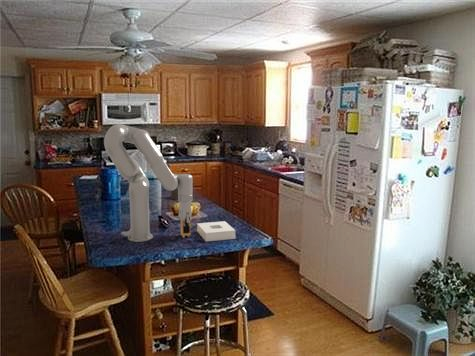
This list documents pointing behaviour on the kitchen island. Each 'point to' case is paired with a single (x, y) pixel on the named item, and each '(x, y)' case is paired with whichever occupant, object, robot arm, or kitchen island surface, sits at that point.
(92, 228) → the kitchen island surface
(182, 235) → the plug
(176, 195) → the clothes iron
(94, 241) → the kitchen island surface
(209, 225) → the socket block
